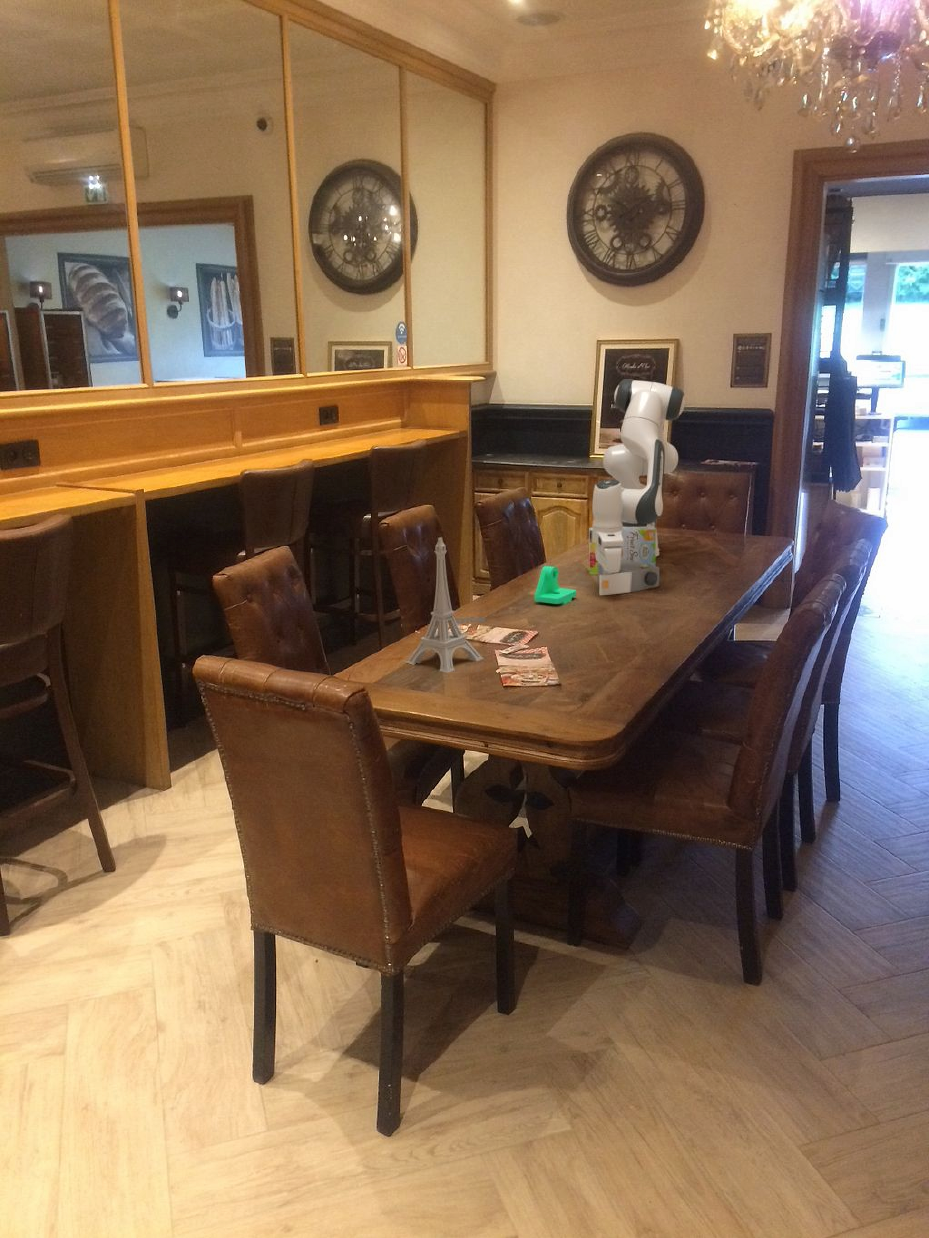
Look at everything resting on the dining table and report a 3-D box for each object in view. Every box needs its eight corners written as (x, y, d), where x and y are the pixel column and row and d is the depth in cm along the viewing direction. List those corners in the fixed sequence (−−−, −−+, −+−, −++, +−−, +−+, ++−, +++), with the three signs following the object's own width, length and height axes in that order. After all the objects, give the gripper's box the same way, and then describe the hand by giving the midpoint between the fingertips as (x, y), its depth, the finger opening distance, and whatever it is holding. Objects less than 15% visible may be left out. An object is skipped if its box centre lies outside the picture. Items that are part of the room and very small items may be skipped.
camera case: (597, 582, 311) (597, 561, 309) (623, 577, 316) (624, 556, 315) (635, 592, 297) (635, 570, 295) (662, 587, 302) (662, 565, 300)
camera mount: (557, 607, 283) (557, 572, 280) (534, 604, 287) (534, 570, 284) (577, 598, 292) (577, 564, 290) (555, 595, 296) (554, 562, 294)
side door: (602, 596, 293) (602, 576, 291) (599, 594, 295) (599, 575, 293) (633, 592, 296) (633, 573, 294) (630, 591, 298) (630, 571, 296)
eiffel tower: (441, 650, 246) (437, 531, 238) (483, 659, 238) (480, 536, 230) (405, 663, 236) (399, 540, 228) (447, 673, 228) (443, 545, 220)
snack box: (653, 571, 325) (654, 525, 321) (655, 575, 319) (656, 528, 315) (588, 571, 327) (589, 526, 323) (589, 575, 321) (589, 529, 317)
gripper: (590, 529, 302) (590, 574, 306) (603, 542, 283) (602, 589, 286) (611, 529, 303) (610, 573, 306) (625, 541, 283) (624, 588, 287)
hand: (607, 581), depth 296 cm, fingers closed
